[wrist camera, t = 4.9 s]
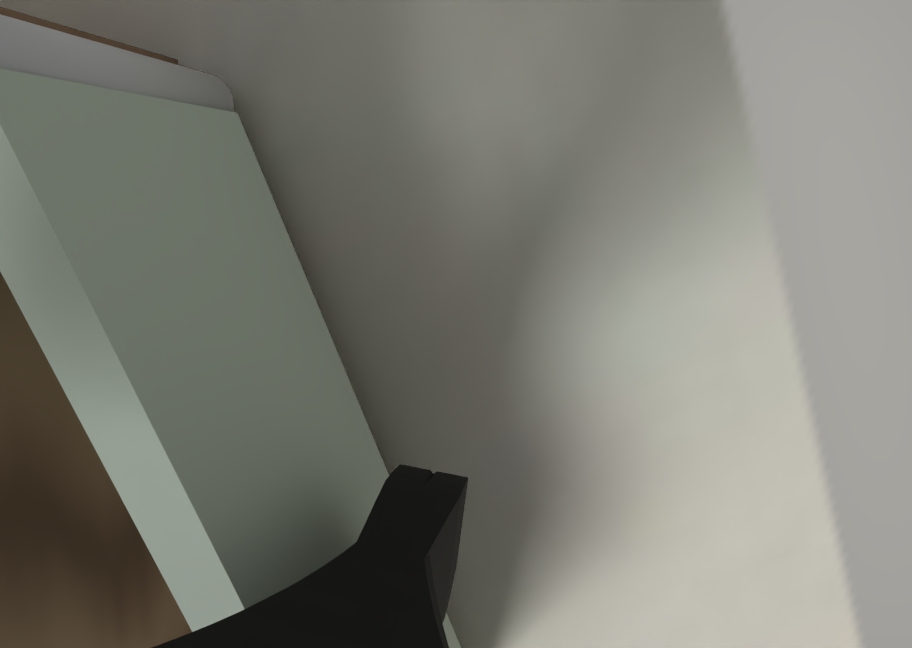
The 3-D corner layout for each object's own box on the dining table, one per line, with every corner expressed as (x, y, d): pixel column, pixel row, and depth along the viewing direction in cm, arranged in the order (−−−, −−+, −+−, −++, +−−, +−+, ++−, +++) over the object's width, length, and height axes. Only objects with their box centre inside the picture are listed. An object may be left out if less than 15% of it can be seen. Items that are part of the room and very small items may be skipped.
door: (176, 86, 11) (-141, 15, 6) (253, 48, 11) (-21, -63, 6) (443, 699, 15) (382, 994, 9) (511, 689, 14) (487, 994, 9)
